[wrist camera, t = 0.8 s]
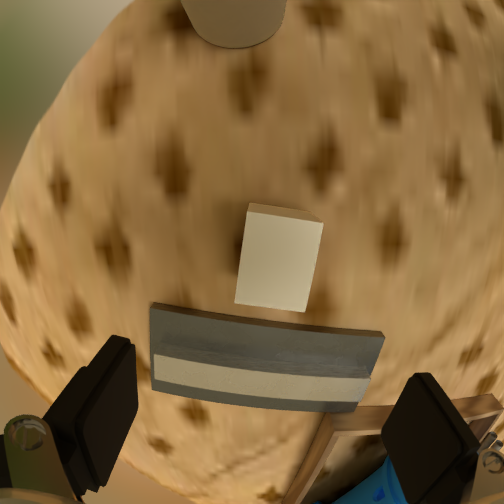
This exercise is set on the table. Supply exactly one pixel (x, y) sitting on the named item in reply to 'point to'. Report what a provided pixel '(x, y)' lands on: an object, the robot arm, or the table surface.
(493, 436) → the metal rod assembly
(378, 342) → the rail board
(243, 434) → the table surface
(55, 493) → the robot arm
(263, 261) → the block
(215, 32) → the travel mug
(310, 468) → the brown wooden tray
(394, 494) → the tube
